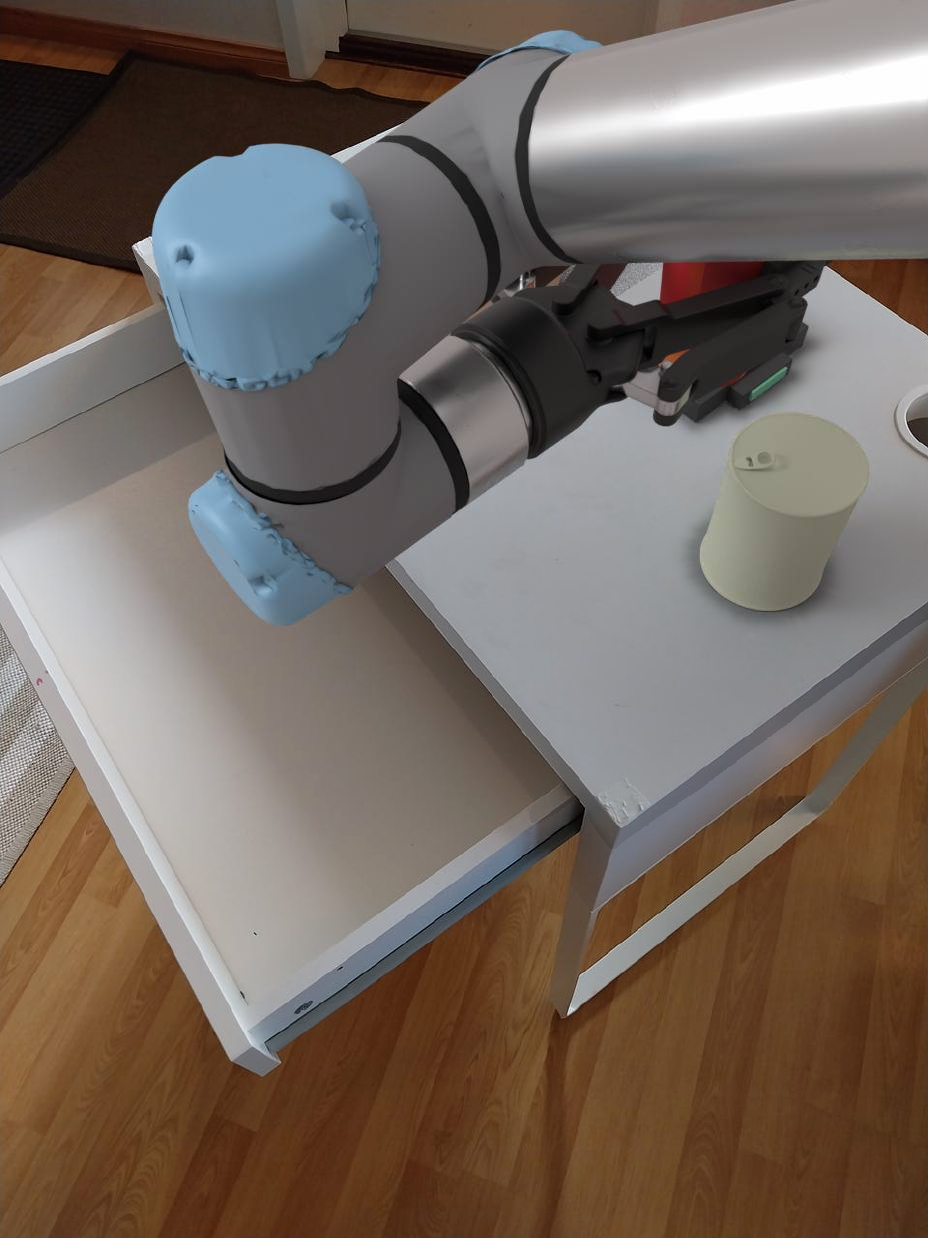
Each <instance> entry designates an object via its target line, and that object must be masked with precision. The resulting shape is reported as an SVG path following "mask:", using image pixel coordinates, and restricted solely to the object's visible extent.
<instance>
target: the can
mask: <svg viewBox="0 0 928 1238" xmlns="http://www.w3.org/2000/svg"><path fill="white" fill-rule="evenodd" d="M869 479H870V464H869V460H868V457H867V455H866V453H865V451H864V449H863V447H862V446H861V444H860V442H858V440H857V439H856V438H855V437H854V436H853V435H852V434H851V433H850V432H848V431H847V430H845V429H844V428H843V427H841V426H839V425H838V424H837V423H835V422H833V421H830V420H829V419H826V418H824V417H821V416H818V415H814V414H811V413H805V412H797V411H786V412H785V411H784V412H783V411H782V412H775V413H770V414H766V415H763V416H759V417H758V418H755V419H754V420H752V421H750V422H748V423H747V424H746V425H744V426H743V427H741V429H740V430H739V431H738V432H737V434H735V436H734V438H733V439H732V442H731V444H730V447H729V451H728V458H727V462H726V465H725V470H724V472H723V477H722V480H721V484H720V487H719V490H718V494H717V497H716V501H715V504H714V508H713V511H712V515H711V517H710V521H709V524H708V527H707V531H706V533H705V535H704V536H703V539H702V541H701V544H700V547H699V563H700V567H701V571H702V572H703V575H704V577H705V579H706V580H707V582H708V584H709V585H710V586H711V587H712V588H713V589H714V590H715V592H717V593H718V594H719V595H721V596H722V597H723V598H724V599H726V600H727V601H729V602H731V603H733V604H735V605H737V606H740V607H742V608H744V609H745V608H746V609H749V610H753V611H759V612H778V611H779V612H780V611H784V610H788V609H791V608H794V607H796V606H798V605H800V604H802V603H803V602H804V601H806V600H807V599H808V598H810V597H811V596H812V595H813V594H814V592H815V591H816V590H817V589H818V586H819V585H820V583H821V580H822V577H823V573H824V570H825V568H826V566H827V564H828V561H829V559H830V557H831V555H832V553H833V551H834V549H835V546H836V545H837V543H838V542H839V539H840V537H841V535H842V533H843V531H844V529H845V527H846V526H847V525H846V524H847V523H848V521H849V519H850V517H851V515H852V513H853V511H854V510H855V508H856V506H857V504H858V501H859V500H860V498H861V497H862V496H863V494H864V492H865V491H866V489H867V487H868V484H869Z"/></svg>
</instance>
